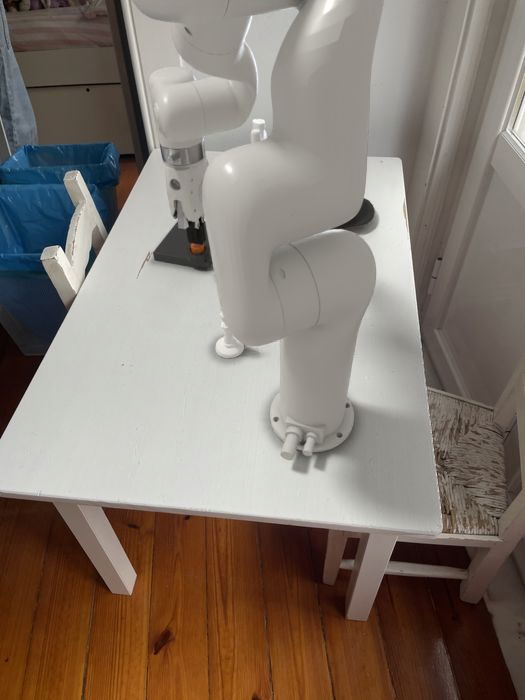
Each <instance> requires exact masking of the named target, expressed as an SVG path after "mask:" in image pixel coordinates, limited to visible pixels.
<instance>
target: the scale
mask: <svg viewBox="0 0 525 700" xmlns="http://www.w3.org/2000/svg"><path fill="white" fill-rule="evenodd" d="M202 223H204V227H205V234H206V241H205V242H204V252H202V253H198V254H196V253H193V252H192V250H191V244H192V243H189V242H188V237H187V231H186V229H181V228H178V220H177V221H176V223H174V225H173V226H172V227H171V229H170V230H169V232H168V233H167V234H166V235H165V236H164V237H163V239H162V240H161V241H160V243H159V244H158V245H157V247H155V249H154V250H153V252H152V255H153V260H154V261H155V262H160V263H166V264H167V263H168V264H171V265H177V266H183V267H188V268H193V269H199V270H204V271H209V269H210V267H211V266H212V265H213V262H212V257H211V251H210V245H209V240H208V234H207V228H206V223H205V220H204V222H202Z"/></svg>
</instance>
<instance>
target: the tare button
mask: <svg viewBox="0 0 525 700" xmlns="http://www.w3.org/2000/svg"><path fill="white" fill-rule="evenodd" d="M191 250H192V252H193V253H196V254H198V253H202V252H204V244H203V245H199V244H193V243H192V244H191Z"/></svg>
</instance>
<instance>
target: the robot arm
mask: <svg viewBox="0 0 525 700" xmlns="http://www.w3.org/2000/svg"><path fill="white" fill-rule="evenodd" d="M131 1H132V3H133V4H134V5H135V7H136V8H137V10H139V12H140V13H142V14H143V15H145V16H146V17H148V18H150V19H151V20H155V21H160V22H166V23H172V25H171V26H172V27H171V28H172V29H171V33H172V35H171V36H172V42H173V45H174V48H175V49H176V52H177V53H178V55H179V57H180V58H181V59H182V60H183V61H184V62H185V63H186V64H187V65H188V66H190V67H191V68H192V69H194V70H196V71H198V72H200V73H202V74H205V75H208V76H210V77H204V78H200V79H197V78H196V76H195V74H194V73H193V71H192V70H190V69H189V68H186V67H184V66H183V67H182V66H166V67H162V68H159V69H156V70H155V71H153V72H152V73H151V74H150V75H149V77H148V85H147V86H148V92H149V97H150V100H151V105H152V112H153V117H154V123H155V129H156V133H157V138H158V143H159V148H160V154H161V159H162V163H163V164H164V172H165V173H164V174H165V186H166V187H165V188H166V194H167V195H166V196H167V202H168V207H169V210H170V214H171V215H170V216H171V218H172V219H174V220H177V221H178V228H181V229H186V231H187V237H188V242H189V243H193V244H199V245H203V244H204V242H205V241H206V234H205V227H204V223H202V222H204V221H205V223H206V228H207V234H208V240H209V245H210V251H211V257H212V267H213V274H214V281H215V284H216V290H217V296H218V302H219V305H220V308H221V310H222V313H223V316H224V319H225V322H226V324H227V326H228V328H229V330H230V332H231V333H232V335H233V336H234V337H235V338H236V339H237V340H238V341H239V342H241V343H243V344H244V346H248V347H262V346H266V345H269V344H273V343H276V342H277V341H279V388H280V389H279V391H278V393H277V394H276V395H275V396H274V398H273V399H272V401H271V405H270V408H269V420H270V425H271V427H272V430H273V431H274V433H275V435H276V436H277V438H279V440H281V441H282V442H283V445H282V448H281V451H280V457H281V458H282V459H284V460H287V461H293V460H294V459H295V456H296V453H297V450H298V451H302V455H304V456H305V457H312V456H313V454H314V453H321V452H326V451H329V450H332V449H335V448H336V447H338V446H340V445H341V444H342V443H344V442H345V441H346V440H347V438H348V437H349V436H350V434H351V432H352V430H353V427H354V423H355V409H354V407H353V404H352V402H351V400H350V399H349V397H348V393H349V386H350V382H351V381H350V380H351V376H352V375H351V373H352V368H353V362H354V356H355V352H356V345H357V340H358V335H359V331H360V327H361V324H362V321H363V319H364V316H365V314H366V312H367V310H368V308H369V305H370V303H371V300H372V298H373V295H374V291H375V287H376V282H377V264H376V259H375V256H374V253H373V251H372V249H371V247H370V246H369V244H368V243H367V241H366V240H365V239H364V238H363V237H362V236H360V235H359V234H357V233H355V232H354V231H350V230H347V229H342V228H341V229H333V228H335V227H338V226H340V225H342V224H344V223H346V222H348V221H349V220H351V219H352V218H354V217H355V216H356V215H357V213H358V212H359V210H360V208H361V206H362V203H363V199H364V198H365V194H366V186H367V185H366V184H367V174H368V173H367V171H368V152H369V151H368V150H369V129H370V109H371V81H372V69H373V62H374V55H375V48H376V42H377V37H378V33H379V27H380V23H381V19H382V14H383V9H384V8H383V7H384V4H385V0H131ZM290 9H291V10H292V9H295V10H297V11H298V13H297V14H296V16H295V17H294V20H293V21H292V23H291V24H290V26H289V28H288V30H287V31H286V34H285V36H284V38H283V40H282V42H281V44H280V47H279V49H278V53H277V55H276V56H275V57H276V58H275V60H274V64H273V67H272V70H271V75H270V97H271V108H272V109H271V110H272V129H271V132H270V134H269V135H268V136H267V139H265V140H261V141H257V142H254V143H251V142H249V143H246V144H243V145H239V146H235V147H233V148H232V147H231V148H229V149H227V150H225V151H223V152H221V153H219V154H218V155H216V156H215V157H214V158H213V159H212V160H211V161H210V162H209V160H208V156H207V153H206V146H205V137H207V136H211V135H215V134H220V133H224V132H228V131H231V130H235V129H238V128H239V127H241V126H243V125H244V124H245V123H246V122H247V120H248V119H249V118H250V115H251V113H252V111H253V109H254V105H255V104H256V101H257V98H258V95H259V74H258V73H259V72H258V66H257V62H256V59H255V56H254V53H253V51H252V49H251V47H250V46H249V45H248V42H247V36H248V32H249V30H250V27H251V23H252V20H253V17H254V16H258V15H265V14H268V13H269V14H270V13H273V12H274V13H275V12H280V11H284V10H290ZM330 229H333V230H330Z"/></svg>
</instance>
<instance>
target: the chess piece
mask: <svg viewBox="0 0 525 700" xmlns="http://www.w3.org/2000/svg"><path fill="white" fill-rule="evenodd" d="M219 311H220V312H219V317H220V319H221V320H222V321H221V323H220V327H221V328H222V329H223V330H224V333H223V335H224V336H222V337H219V339H218V340H217V341H216V343H215V352H216V354H217V355H219V356H220V357H221V358H225V359H234V358H237V357H238V356H240V355H241V354H242V353H243V352H244V350H245V344H243V343H241V342H239V341H238V340H237V339H236V338H235V337H234V336H233V335H232V333H231V332H230V330H229V328H228V326H227V324H226V322H225V319H224V316H223V313H222V310H221V307H219Z"/></svg>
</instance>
